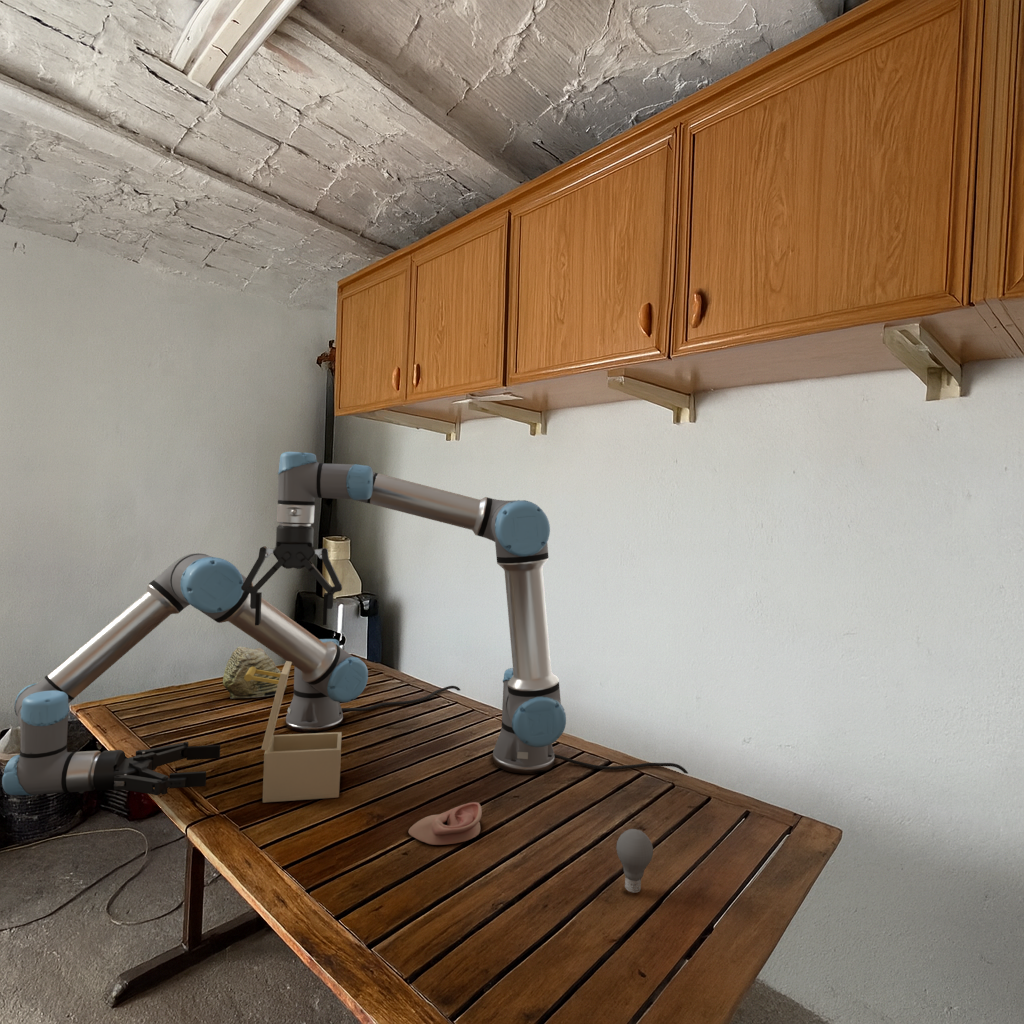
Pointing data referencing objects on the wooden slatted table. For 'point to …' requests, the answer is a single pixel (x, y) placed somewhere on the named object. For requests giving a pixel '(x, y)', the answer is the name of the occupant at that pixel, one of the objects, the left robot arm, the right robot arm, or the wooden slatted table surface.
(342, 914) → the wooden slatted table surface
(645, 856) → the light bulb
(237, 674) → the fossil
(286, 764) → the chest
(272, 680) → the lid
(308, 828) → the wooden slatted table surface
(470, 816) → the anatomical model
